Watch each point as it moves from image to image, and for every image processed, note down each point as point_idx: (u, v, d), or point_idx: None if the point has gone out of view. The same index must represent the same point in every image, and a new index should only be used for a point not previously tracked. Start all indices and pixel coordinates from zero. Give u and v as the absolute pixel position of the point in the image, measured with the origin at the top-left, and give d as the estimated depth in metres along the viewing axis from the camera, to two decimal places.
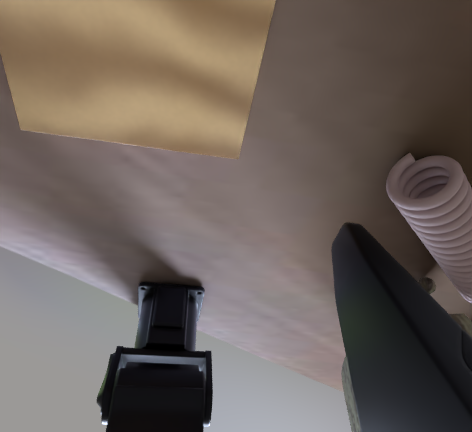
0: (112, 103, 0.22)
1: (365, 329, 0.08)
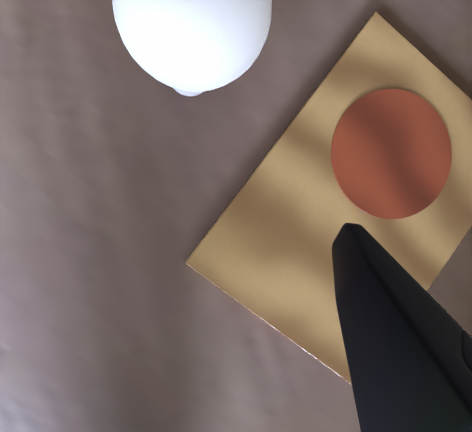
0: (287, 280, 0.23)
1: (365, 329, 0.08)
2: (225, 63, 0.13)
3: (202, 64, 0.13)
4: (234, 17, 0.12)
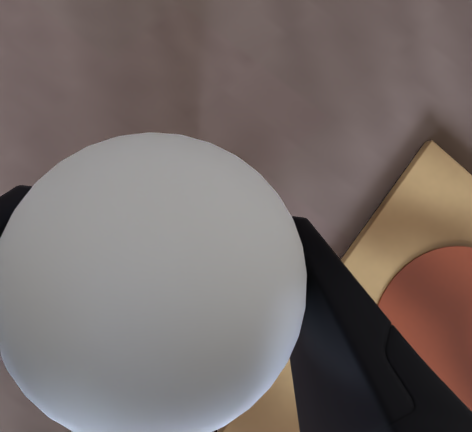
0: None
1: (303, 325, 0.08)
2: None
3: None
4: (237, 395, 0.06)
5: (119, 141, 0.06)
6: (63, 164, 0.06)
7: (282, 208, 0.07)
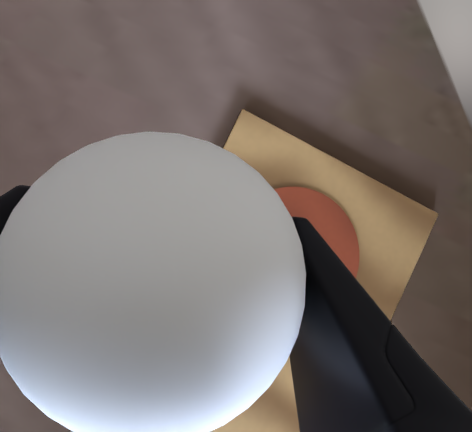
0: None
1: (303, 325, 0.08)
2: (217, 427, 0.07)
3: None
4: (236, 395, 0.06)
5: (118, 140, 0.06)
6: (62, 163, 0.06)
7: (281, 207, 0.07)
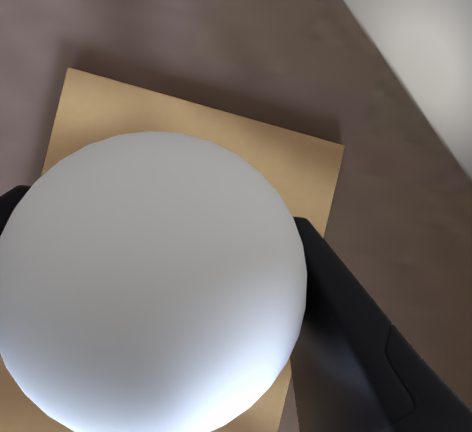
0: None
1: (303, 325, 0.08)
2: None
3: None
4: (237, 395, 0.06)
5: (119, 140, 0.06)
6: (63, 163, 0.06)
7: (282, 207, 0.07)
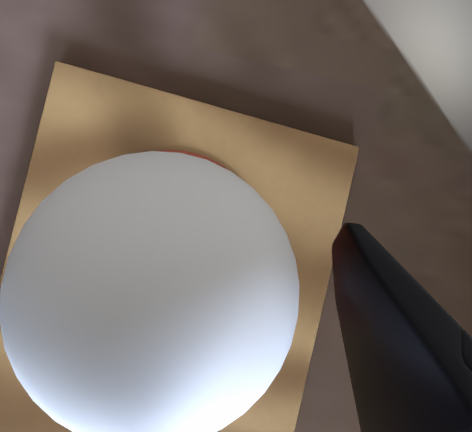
0: None
1: (365, 329, 0.08)
2: None
3: None
4: (232, 401, 0.06)
5: (122, 162, 0.07)
6: (69, 184, 0.07)
7: (275, 224, 0.07)
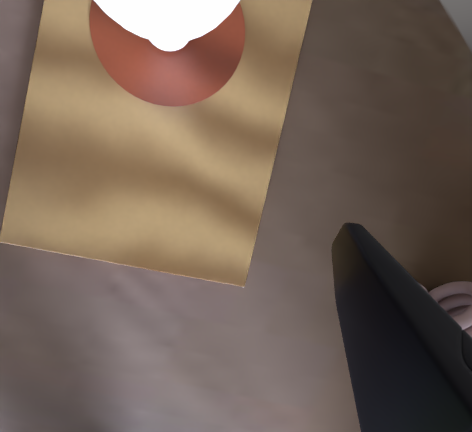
0: (117, 213, 0.21)
1: (365, 329, 0.08)
2: (200, 6, 0.12)
3: (172, 8, 0.11)
4: None
5: None
6: None
7: None
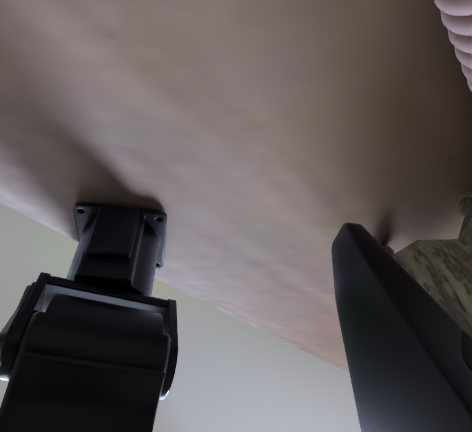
0: None
1: (365, 329, 0.08)
2: None
3: None
4: None
5: None
6: None
7: None
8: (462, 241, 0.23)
